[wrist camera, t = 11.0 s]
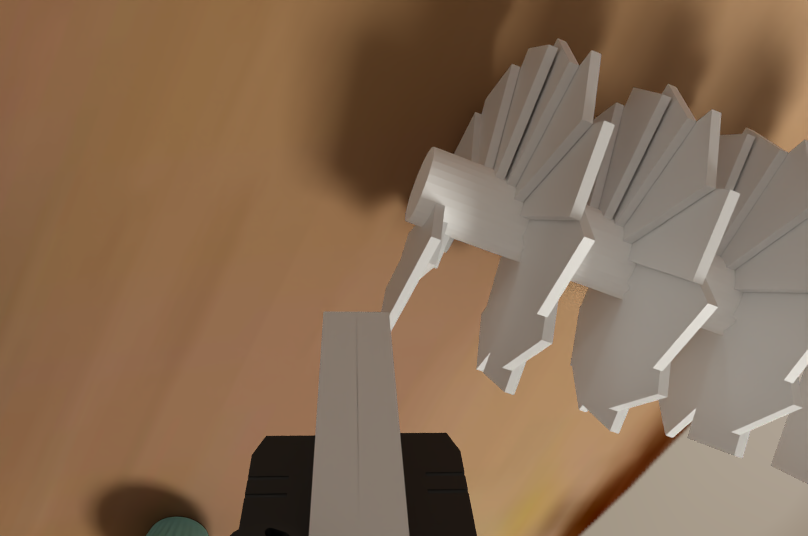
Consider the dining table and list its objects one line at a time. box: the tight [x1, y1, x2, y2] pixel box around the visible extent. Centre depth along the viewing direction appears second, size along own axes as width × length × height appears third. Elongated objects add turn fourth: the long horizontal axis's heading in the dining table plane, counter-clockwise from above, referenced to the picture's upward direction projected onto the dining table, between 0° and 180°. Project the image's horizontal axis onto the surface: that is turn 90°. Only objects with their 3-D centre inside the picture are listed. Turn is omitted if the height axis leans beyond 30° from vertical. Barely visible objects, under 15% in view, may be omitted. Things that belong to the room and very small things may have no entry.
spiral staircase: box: [381, 38, 808, 484], centre depth 37 cm, size 18×18×25 cm
